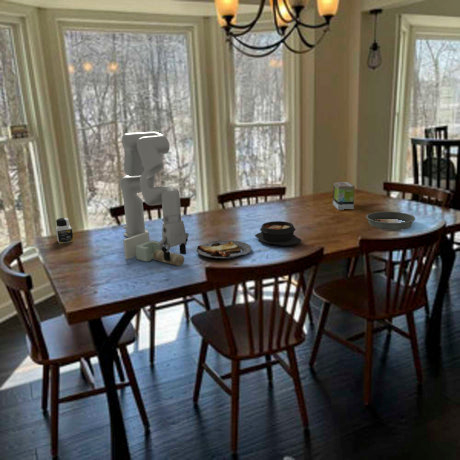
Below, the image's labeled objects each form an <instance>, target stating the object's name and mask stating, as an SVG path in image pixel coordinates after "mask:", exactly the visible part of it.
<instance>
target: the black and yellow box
mask: <svg viewBox="0 0 460 460" xmlns="http://www.w3.org/2000/svg"><path fill="white" fill-rule="evenodd" d="M55 222H56V227H55V233H56V240H57V242H58V244H65V243H72V242H74V234H73V229H72V226H71V225H70V220H69V218H67V217H59V218H57V219H56V220H55Z"/></svg>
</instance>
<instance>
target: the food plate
mask: <svg viewBox="0 0 460 460" xmlns="http://www.w3.org/2000/svg"><path fill="white" fill-rule="evenodd" d="M251 252H252V246H251V245H250V244H249V243H247V242H243V241H240V240H221V239H220V240H213V241H211V242H207V243H203V244H199V245H197V248H196V253H198V255H200V256H203V257H207V258H211V259H218V258H219V259H234V258H237V257H239V256H243V255H244V256H245V255H247V254H249V253H251Z"/></svg>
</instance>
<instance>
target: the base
mask: <svg viewBox="0 0 460 460" xmlns="http://www.w3.org/2000/svg"><path fill="white" fill-rule="evenodd" d="M149 241H150V233H149V231H148V232H145V233H142V234H139V235H136V236H133V237H126V238H124V239H123V243H122V244H123V250H124V251H123V253H124V258H125V260H129V259H132V258H135V257H137V256H136V246H138V245H140V244H143V243H146V242H149Z"/></svg>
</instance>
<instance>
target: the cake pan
mask: <svg viewBox="0 0 460 460" xmlns="http://www.w3.org/2000/svg"><path fill="white" fill-rule="evenodd" d="M365 219H367V222H368V225H369V224H370V225H371V226H370V225H369V226H370V227H372V226H374V227H377V228H376V229H378V228H382V229H381V230H384V229H390V230H389V231H402V230H401V229H404V230H408V229H410V228H411V227H412V225H413V222H414V221H415V220H416V217H415V216H414V215H411V214H409V213H406V212H401V211H375V212H370V213H368V214H366V216H365ZM375 219H398V220H402V221H405V222H401V223H388V222H379V220H375ZM374 220H375V221H374ZM374 227H373V228H374Z"/></svg>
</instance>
